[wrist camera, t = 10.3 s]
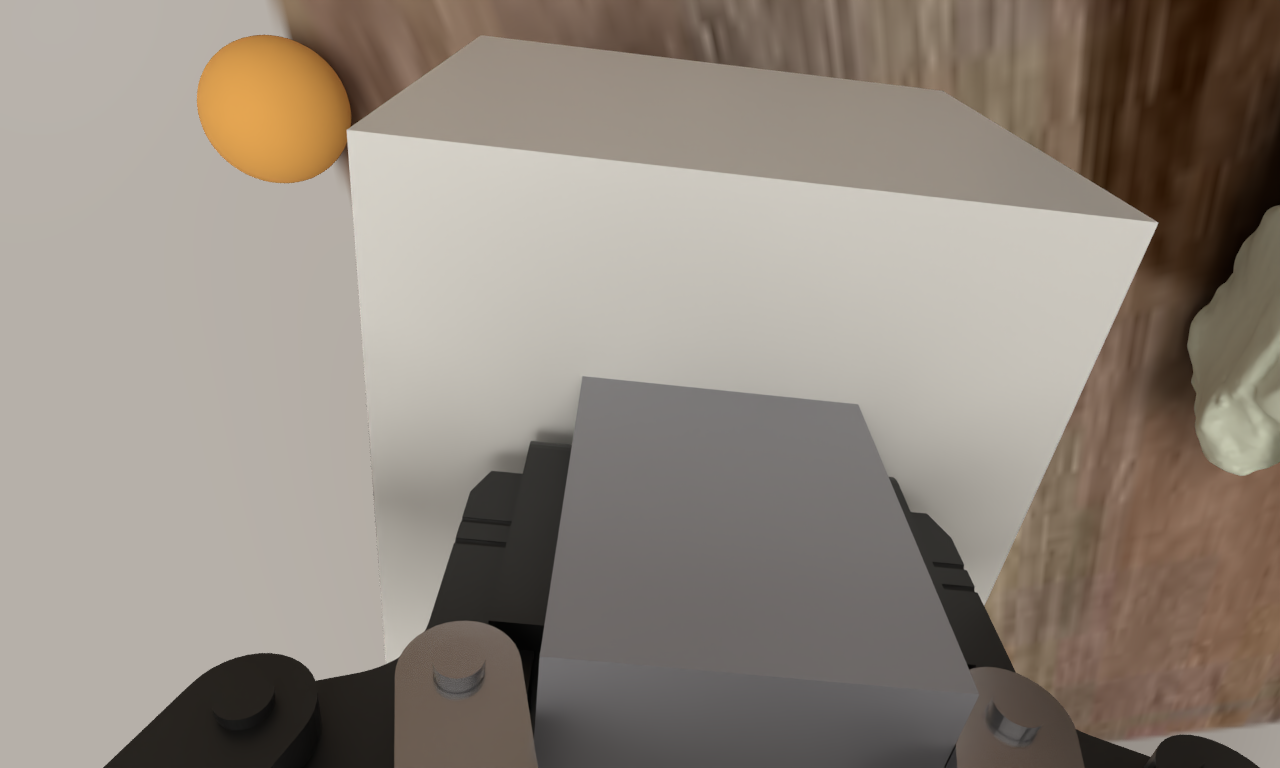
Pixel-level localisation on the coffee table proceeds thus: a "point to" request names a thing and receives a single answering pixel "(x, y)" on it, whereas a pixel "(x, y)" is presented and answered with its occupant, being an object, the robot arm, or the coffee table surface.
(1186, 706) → the coffee table surface
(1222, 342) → the wavy plaster lump
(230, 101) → the ball
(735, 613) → the stacked blocks
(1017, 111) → the coffee table surface
